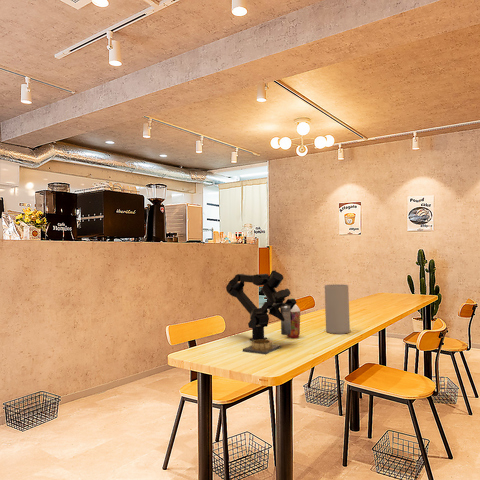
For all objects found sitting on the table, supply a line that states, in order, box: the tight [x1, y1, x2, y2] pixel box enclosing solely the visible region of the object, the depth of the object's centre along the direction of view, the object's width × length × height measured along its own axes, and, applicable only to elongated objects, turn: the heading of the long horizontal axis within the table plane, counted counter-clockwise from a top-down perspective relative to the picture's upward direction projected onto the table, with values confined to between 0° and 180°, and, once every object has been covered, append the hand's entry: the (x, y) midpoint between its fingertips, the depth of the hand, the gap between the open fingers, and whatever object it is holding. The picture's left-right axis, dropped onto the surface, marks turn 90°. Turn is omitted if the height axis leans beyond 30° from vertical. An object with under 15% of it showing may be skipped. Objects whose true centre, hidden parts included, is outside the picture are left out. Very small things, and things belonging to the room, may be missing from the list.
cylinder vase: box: [324, 284, 351, 335], centre depth 220 cm, size 12×12×25 cm
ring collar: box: [242, 339, 282, 355], centre depth 186 cm, size 14×12×4 cm
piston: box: [279, 305, 291, 336], centre depth 190 cm, size 5×5×13 cm
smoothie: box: [286, 297, 301, 339], centre depth 210 cm, size 8×8×20 cm
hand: (287, 320), depth 189 cm, fingers closed on piston, 4 cm apart
